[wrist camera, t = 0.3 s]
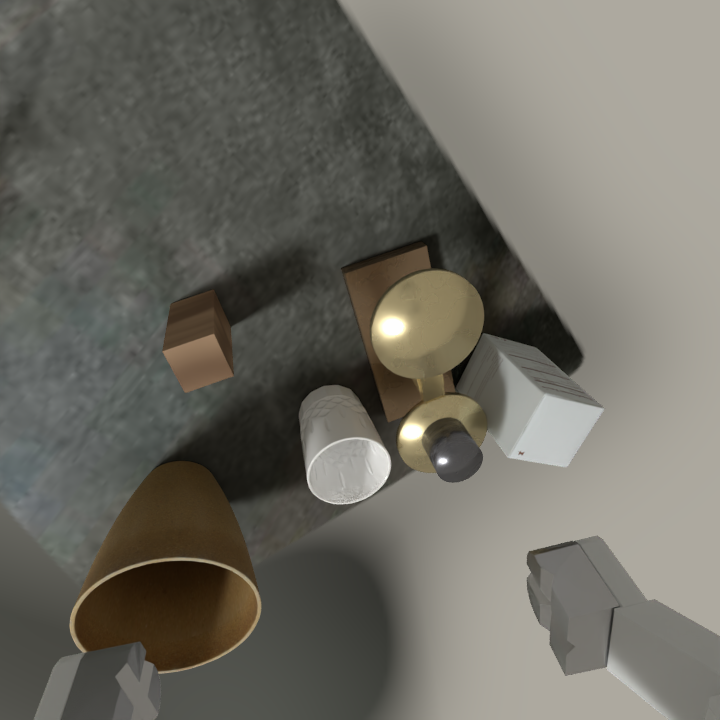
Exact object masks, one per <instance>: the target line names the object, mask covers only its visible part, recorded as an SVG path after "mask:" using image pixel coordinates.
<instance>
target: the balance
mask: <svg viewBox="0 0 720 720" xmlns="http://www.w3.org/2000/svg"><path fill="white" fill-rule="evenodd" d="M341 270H342V273H343V277H344V280H345V283H346V287H347V290H348V294H349V297H350V300H351V304H352V307H353V310H354V314H355V317H356V321H357V324H358V327H359V331H360V334H361V337H362V341H363V344H364V348H365V351H366V354H367V358H368V361H369V364H370V368H371V371H372V375H373V378H374V381H375V385H376V388H377V392H378V395H379V398H380V402H381V405H382V408H383V412H384V415H385V417H386V419H387V421H388V422H390V421H393V420H396V419H399V418H401V417H403V419H402V421H401V422H400V424H399V427H398V430H397V434H396V445H397V448H398V451H399V453H400V455H401V457H402V459H403V461H404V462H405V463H406V464H407V465H408V466H409V467H411V468H413V469H415V470H417V471H420V472H426V473H437V474H438V476H439V477H440V478H441V479H442V480H444V481H446V482H460V481H463V480H466V479H468V478H469V477H471V476H472V475H474V474H475V473H476V472H477V471H478V469H479V468H480V466H481V464H482V460H483V454H482V452H481V450H480V448H479V447H480V446H481V444H482V443H483V441H484V438H485V436H486V432H487V418H486V415H485V413H484V411H483V409H482V408H481V407H480V405H479V404H478V403H477V402H476V401H475V400H474V399H473V398H471V397H470V396H468V395H465V394H462V393H457V392H455V388H454V383H453V378H452V372H451V369H452V368H454V367H455V366H457V365H458V364H459V363H461V362H462V361H463V360H464V359H465V358H466V357H467V356H468V355H469V354H470V352H471V351H472V350H473V348H474V347H475V345H476V344H477V342H478V340H479V337H480V335H481V332H482V329H483V324H484V308H483V303H482V300H481V298H480V296H479V294H478V292H477V290H476V289H475V288H474V287H473V286H472V285H471V284H470V283H469V282H468V281H467V280H466V279H464V278H463V277H462V276H460V275H459V274H457V273H455V272H452V271H449V270H446V269H439V268H431V265H430V260H429V255H428V250H427V246H426V245H425V244H424V243H423V242H422V241H420V242H417V243H414V244H411V245H408V246H405V247H402V248H399V249H396V250H393V251H390V252H387V253H384V254H382V255H379V256H376V257H373V258H370V259H367V260H364V261H361V262H358V263H355V264H352V265H349V266H346V267H343V268H341Z"/></svg>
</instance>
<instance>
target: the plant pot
mask: <svg viewBox="0 0 720 720" xmlns="http://www.w3.org/2000/svg"><path fill="white" fill-rule="evenodd" d="M260 613H261V599H260V594H259V590H258V586H257V582H256V578H255V574H254V571H253V567H252V563H251V560H250V556H249V553H248V550H247V547H246V544H245V541H244V538H243V535H242V532H241V530H240V527H239V524H238V522H237V520H236V517H235V515H234V513H233V510H232V508H231V506H230V504H229V502H228V500H227V498H226V496H225V494H224V493H223V491H222V489H221V487H220V486H219V484H218V482H217V481H216V479H215V478H214V476H213V475H212V473H211V472H210V471H209V470H208V469H207V468H205V467H204V466H202V465H200V464H197V463H194V462H190V461H173V462H169V463H166V464H163V465H160V466H159V467H157V468H155V469H154V470H153V471H152V472H151V473H150V474H149V475H148V476H147V477H146V478H145V479H144V481H143V482H142V483H141V484H140V486H139V487H138V488H137V490H136V491H135V492H134V494H133V495H132V496H131V498H130V499H129V501H128V502H127V504H126V505H125V506H124V508H123V509H122V511H121V513H120V514H119V516H118V517H117V519H116V521H115V522H114V524H113V526H112V528H111V529H110V531H109V533H108V535H107V536H106V538H105V540H104V542H103V544H102V546H101V548H100V550H99V552H98V554H97V556H96V558H95V560H94V562H93V564H92V566H91V568H90V571H89V573H88V575H87V577H86V580H85V582H84V584H83V587H82V589H81V591H80V594H79V596H78V598H77V601H76V603H75V606H74V608H73V611H72V614H71V618H70V631H71V635H72V637H73V640H74V642H75V643H76V645H77V646H78V648H79V649H80V650H81V651H82V652H83V653H85V652H90V651H95V650H100V649H105V648H110V647H114V646H119V645H124V644H129V643H134V642H139V641H140V642H141V643H142V645H143V646H144V648H145V650H146V655H145V661H148V662H150V663H152V664H154V665H155V667H156V669H157V671H158V674H160V673H170V672H177V671H182V670H186V669H191V668H194V667H197V666H201V665H204V664H206V663H208V662H211V661H213V660H216V659H218V658H220V657H222V656H223V655H225V654H227V653H228V652H230V651H232V650H233V649H235V648H236V647H237V646H238V645H240V644H241V643H242V642H243V641H244V640H245V639H246V638H247V637H248V636H249V635H250V633H251V632H252V631H253V629H254V628H255V626H256V624H257V622H258V620H259V617H260Z"/></svg>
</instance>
